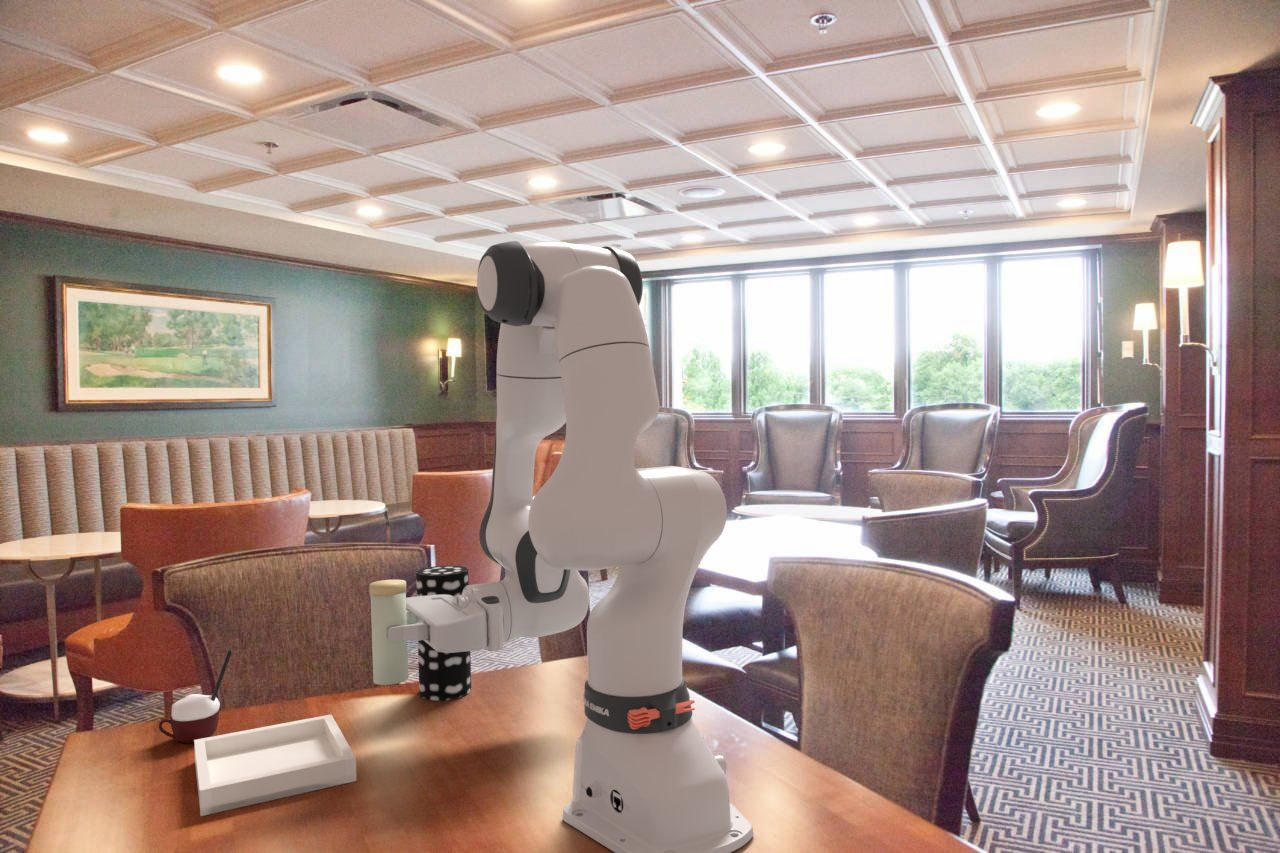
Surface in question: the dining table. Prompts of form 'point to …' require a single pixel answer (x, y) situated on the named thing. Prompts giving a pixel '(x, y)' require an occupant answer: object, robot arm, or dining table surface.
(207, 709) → the cocoa
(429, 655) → the spotted tube
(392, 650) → the tea tin
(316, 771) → the dish
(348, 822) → the dining table surface
